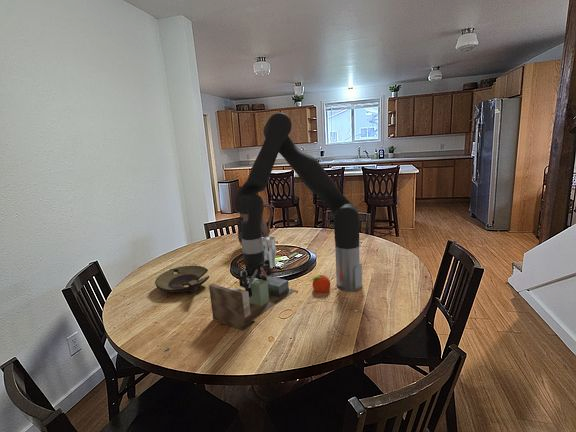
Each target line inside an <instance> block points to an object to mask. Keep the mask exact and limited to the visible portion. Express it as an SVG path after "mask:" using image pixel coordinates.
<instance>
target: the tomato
mask: <svg viewBox="0 0 576 432" xmlns="http://www.w3.org/2000/svg"><path fill="white" fill-rule="evenodd" d="M310 282H312V284H311V285H312V288H313V290H314V291H315V292H316V293H321V294H322V293H327V292H328V291H329V290H330V288H331V281H330V279H329V278H328V277H327V276H326V275H323V274H319V275H316V276H314V277H313V278H312V279H311V281H310Z"/></svg>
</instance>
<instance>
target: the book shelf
mask: <svg viewBox="0 0 576 432" xmlns="http://www.w3.org/2000/svg"><path fill="white" fill-rule="evenodd" d="M208 290H209V291H208V292H209V297H210V305H211V311H212V312H211V313H212V319H213V320H215V321H217V322H219V323H221V324H224V325H227V326H229V327H231V328H234V329H236V330H239V331H241V332H244V330H246V329H247V328H248V327H251V326H252V325H253V324H254V323H256V321H255V319H257V318H258V317H259V316H261V315H263V314H264V313H265V312H267V311H268V310H269V309H271V308H273V307H274V306H276V305H277V304H279V303H280V302H281V301H283V300H285V299H286V298H288V296H290V295H292V294H293V293H295V292H297V291H296V289H292V288H289V292H287V293H286V294H284V295H283V296H281V297H280V298H279V297H276V296H272V295H269V302H268V303H266V304H264V305H263V306H258V305H254V304H251V303H249V293H248V291H245V289H241V288H237V287H234V286H231V287H230V288H227V287H224V286H220V285H218V284H215V283H211V284H209V285H208Z"/></svg>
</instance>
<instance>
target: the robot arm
mask: <svg viewBox="0 0 576 432" xmlns="http://www.w3.org/2000/svg"><path fill="white" fill-rule="evenodd" d="M291 120H292V119H291V118H290V117H289V115H287V114H285V113H283V112H275V113H274V114H272V115H270V117H269V118H268V119H267V121H266V123H265V125H264V127H263V136H264V141H263V144H262V146H261V148H260V150H259V152H258V155H256V158H255V160H254V162H253V165H252V166H251V168H250V171H249V174H248V176H247V180H246V181H245V182H244V183H243V185H242V186H241V188H240V189H238V190H239V191H238V192H237V194H236V195H235V197H234V200H233V207H234V209H235V212H237V213H238V214H240V213H241V214H248V220H246V221H244V222H242V223H241V235H242V245H241V249H242V250H241V251H242V252H241V253H242V261H243V264H244V265H245V268H244V270H238V280H239V287H241V288H244V291H248V293H249V297H251V296H252V290H251V284H252V282H253V281H254V279H255V278H257V277H259V276H260V279H261V280H265V281H267V277H268V276H271V268H270V262H269V260H266V259H264V248H263V240H262V234H261V221H262V216H263V215H264V208H265V207H264V205H265V203H264V200H263V198H262V197H261V196H260V195H258V193H261V192H263V191H264V190H265V189H266V187H267V185H268V182H269V180H270V177H271V174H272V172H273V168H274V166H275V163H276V159H277V157H278V154H280V155H281V157H282V158H283V159H284V160H285V161H286V162H287V164H288V165H289V166H290V167H291V168H292V170H293V171H294V172H295V173H296V175H297V176H298V177H299V178H300V180H301V181H302V182H303V183H304V185H305V186H306V187H307V188H308V189H309V190H310V191H311V192H312V193H313V194H314V195H316V196H317V197H318V198H320V199H321V201H323V203H324V204H325V205H326V206H327V208H328V209H329V210H330V211H331V213H332V215H333V232H334V246H335V275H336V276H335V277H336V286H337V289H339V290H341V291H343V292H357V291H358V290H359V289H360V288H361V287H362V286H363V264H362V263H361V262H360V261H361V260H360V259H361V257H360V216H359V211H358V209H357V207H356V206H355V205H354V204H352V202H351V201H350V200H348V199H347V198H346V196H344V194H342V193H341V191H340V190H339V189H338V187H337V185H336V184H335V182H334V181H333V179H332V178H331V176H330V175H329V174H328V172H327V171H326V170H325V168H324V167H323V166H322V165H321V163H320V162H319V160H317V159H316V158H315V157H314V156H312V155H310V154H309V153H307V152H306V151H304V150H302V149H301V148H300V147H298V146H297V145H296V144H295V143H294V142H293V140H292V139H291V137H290V136H289V135H290V133H291V131H292V127H293V126H292V121H291ZM249 277H250V278H249ZM248 281H249V283H248ZM247 283H248V284H247Z"/></svg>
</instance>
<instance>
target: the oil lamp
mask: <svg viewBox="0 0 576 432" xmlns="http://www.w3.org/2000/svg"><path fill="white" fill-rule="evenodd" d="M208 272H209V270H208V268H206V267H205V266H201V265H185V266H184V265H183V266H177V267H175V268H174V267H173V268H169V270H166V271H164V272H162V273H160V274H159V275H158V276H157V278H156V279H155V281H154V284H155V286H156V288H157V289H159V290H160V291H163V292H168V293H169V292H170V293H183V292H184V293H185V292H189V293H195V292H196V291H197V290H198V288H199V287H200V286H202V285H203V284H204V283H206V282H207V280H209V278H210V275H207V276H205V277H203V276H204V275H206V273H208ZM202 277H203V278H202ZM184 285H187V286H184Z"/></svg>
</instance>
